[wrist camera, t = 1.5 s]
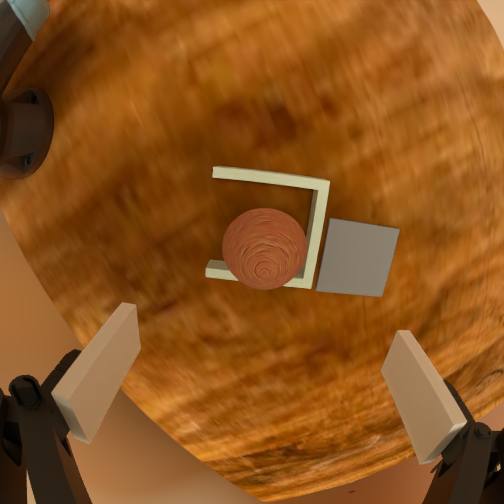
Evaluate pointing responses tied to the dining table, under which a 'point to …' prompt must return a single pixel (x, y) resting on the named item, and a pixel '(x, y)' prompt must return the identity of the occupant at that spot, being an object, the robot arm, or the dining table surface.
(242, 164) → the dining table surface
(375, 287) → the coaster
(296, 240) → the mushroom
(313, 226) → the cream u-shaped piece
